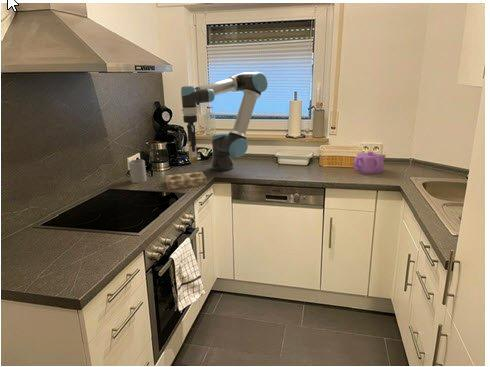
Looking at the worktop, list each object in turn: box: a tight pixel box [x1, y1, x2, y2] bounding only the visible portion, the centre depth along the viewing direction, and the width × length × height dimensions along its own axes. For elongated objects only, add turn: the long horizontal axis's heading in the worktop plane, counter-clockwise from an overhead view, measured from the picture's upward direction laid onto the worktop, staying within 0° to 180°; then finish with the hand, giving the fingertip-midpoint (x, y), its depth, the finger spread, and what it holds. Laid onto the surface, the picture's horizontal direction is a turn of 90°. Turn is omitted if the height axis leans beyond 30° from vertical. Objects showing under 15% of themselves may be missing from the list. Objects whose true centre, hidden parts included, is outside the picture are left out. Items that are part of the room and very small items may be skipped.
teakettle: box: [353, 151, 387, 176], centre depth 213 cm, size 17×17×12 cm
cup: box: [128, 159, 148, 184], centre depth 210 cm, size 9×9×12 cm
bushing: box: [187, 141, 198, 164], centre depth 200 cm, size 4×4×12 cm
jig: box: [164, 171, 208, 190], centre depth 203 cm, size 22×14×4 cm, turn 107°
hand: (193, 156), depth 200 cm, fingers closed on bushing, 4 cm apart
